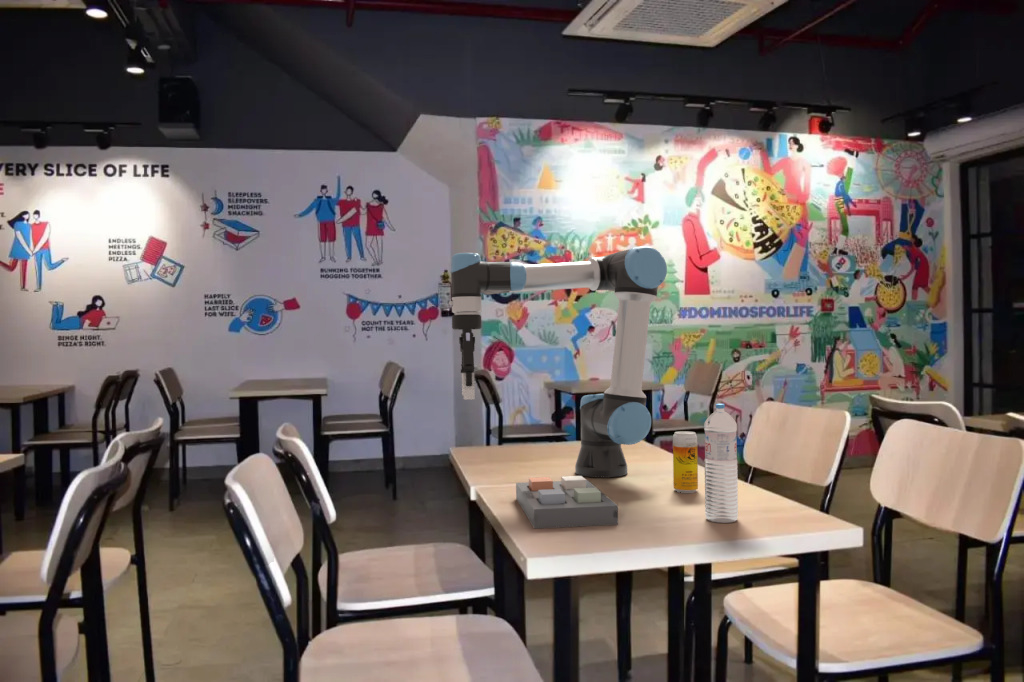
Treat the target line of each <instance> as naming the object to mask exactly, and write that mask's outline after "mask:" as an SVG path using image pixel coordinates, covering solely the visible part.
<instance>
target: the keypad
mask: <svg viewBox="0 0 1024 682" xmlns="http://www.w3.org/2000/svg"><path fill="white" fill-rule="evenodd" d="M552 481H553V480H552ZM586 488H596V489H598V490H599V491H600V492H601V502H588V503H576V502H575V501H574V489H566V490H564V489H563V488H562V487H561V480H557V481H555V480H554V481H553V489H561V490H562V491H563V492H564V493H565V504H542V505H540V504H539V502H538V491H530V490H529V481H528V482H526V481H525V482H524V481H523V482H515V497H516V501H517V502H518V504H519V506H520V508H521V509H522V511H523V512H524V514H525V516H526V517H527V518H528V519H527V520H529V522H530V524H531V526H532V527H533V529H547V528H549V529H553V528H572V527H590V526H591V527H593V526H614V525H619V505H617V504H616V503H615V502H614V501H613V500H612V499H611V498H610V497H608V496H607V495H606V494H605V493H603V492H602V491H601V490H600V489H599V488H597V487H596V486H595V485H594V484H593V483H591V482H590V481H589V480H587V479H586Z"/></svg>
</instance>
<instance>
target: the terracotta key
mask: <svg viewBox="0 0 1024 682" xmlns="http://www.w3.org/2000/svg"><path fill="white" fill-rule="evenodd" d="M528 482H529V490H530V491H538V490H547V489H553V479H552V478H550V476H546V477H545V476H543V477H528Z"/></svg>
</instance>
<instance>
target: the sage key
mask: <svg viewBox="0 0 1024 682" xmlns="http://www.w3.org/2000/svg"><path fill="white" fill-rule="evenodd" d="M596 488H597V487H596ZM596 488H574V501H575V502H576V503H588V502H601V492H602V491H601V490H600V489H599V488H597V489H596ZM598 489H599V490H600V491H601V492H600V491H599V490H598Z"/></svg>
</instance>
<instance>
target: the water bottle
mask: <svg viewBox="0 0 1024 682" xmlns="http://www.w3.org/2000/svg"><path fill="white" fill-rule="evenodd" d="M725 406H726V405H725V403H716V404H715V411H713V413H710V414H709V416H708V417H707V418H706V420H705V421H704V423H703V426H704V427H703V429H704V505H705V506H704V507H705V508H704V512H705V518H706V520H708V521H709V522H713V523H718V524H719V523H720V524H721V523H722V524H730V523H734V522H737V520H738V519H739V515H738V514H739V507H738V506H739V503H738V502H739V498H738V496H739V491H738V489H739V487H738V483H739V482H738V479H739V478H738V475H739V474H738V456H737V455H738V452H737V449H738V447H737V445H738V444H737V431H738V425H737V422H736V420H735V419H734V418H733V416H732V415H731V414H729V413H728V412H726V411H725Z"/></svg>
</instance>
